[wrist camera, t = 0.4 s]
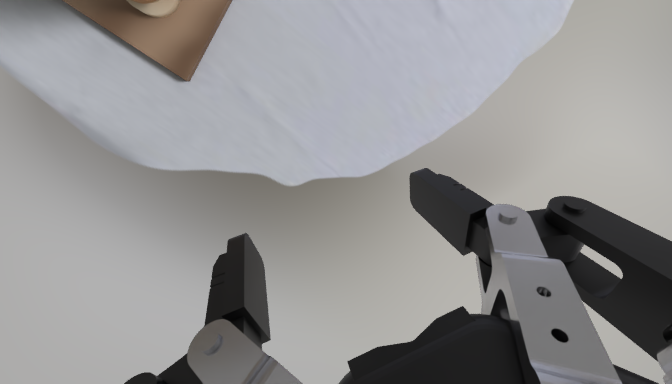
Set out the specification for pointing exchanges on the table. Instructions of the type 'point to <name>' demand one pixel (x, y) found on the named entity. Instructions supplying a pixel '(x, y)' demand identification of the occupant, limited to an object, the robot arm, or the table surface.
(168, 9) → the spool
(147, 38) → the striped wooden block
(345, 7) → the table surface
